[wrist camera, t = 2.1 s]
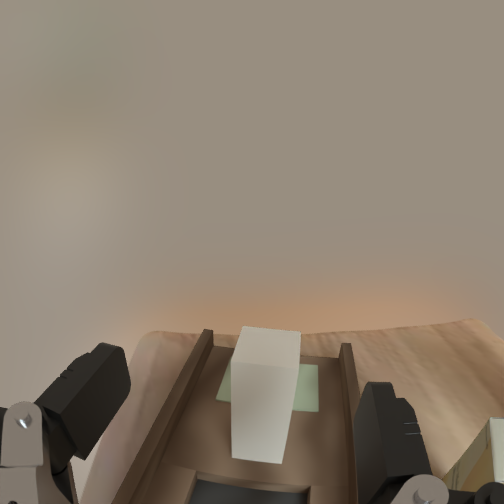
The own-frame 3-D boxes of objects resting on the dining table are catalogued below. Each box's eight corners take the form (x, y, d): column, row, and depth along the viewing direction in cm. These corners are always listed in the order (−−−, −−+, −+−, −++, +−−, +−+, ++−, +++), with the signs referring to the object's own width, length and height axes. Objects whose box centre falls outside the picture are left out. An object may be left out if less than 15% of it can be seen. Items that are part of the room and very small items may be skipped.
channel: (344, 370, 39) (350, 343, 38) (355, 571, 13) (375, 559, 11) (205, 355, 42) (204, 329, 40) (121, 535, 16) (103, 518, 14)
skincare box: (425, 494, 19) (488, 412, 15) (461, 497, 17) (530, 415, 13) (414, 548, 14) (495, 481, 10) (455, 549, 12) (542, 479, 8)
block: (285, 428, 28) (300, 331, 24) (281, 463, 23) (299, 368, 19) (240, 423, 28) (242, 325, 24) (231, 457, 24) (230, 360, 20)
